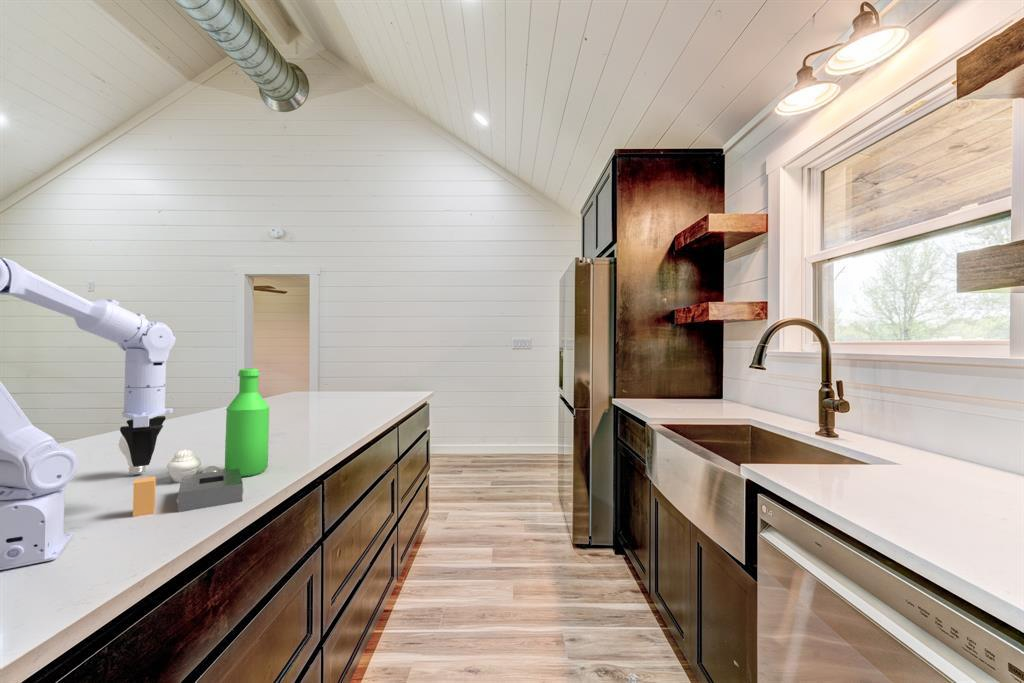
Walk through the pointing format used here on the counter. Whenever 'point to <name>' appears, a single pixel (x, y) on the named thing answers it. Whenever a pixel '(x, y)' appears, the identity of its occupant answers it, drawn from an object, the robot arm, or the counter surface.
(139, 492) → the orange rectangular block
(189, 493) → the grey slotted block
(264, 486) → the counter surface
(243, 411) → the bottle
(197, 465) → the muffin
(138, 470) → the light bulb
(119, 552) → the counter surface
